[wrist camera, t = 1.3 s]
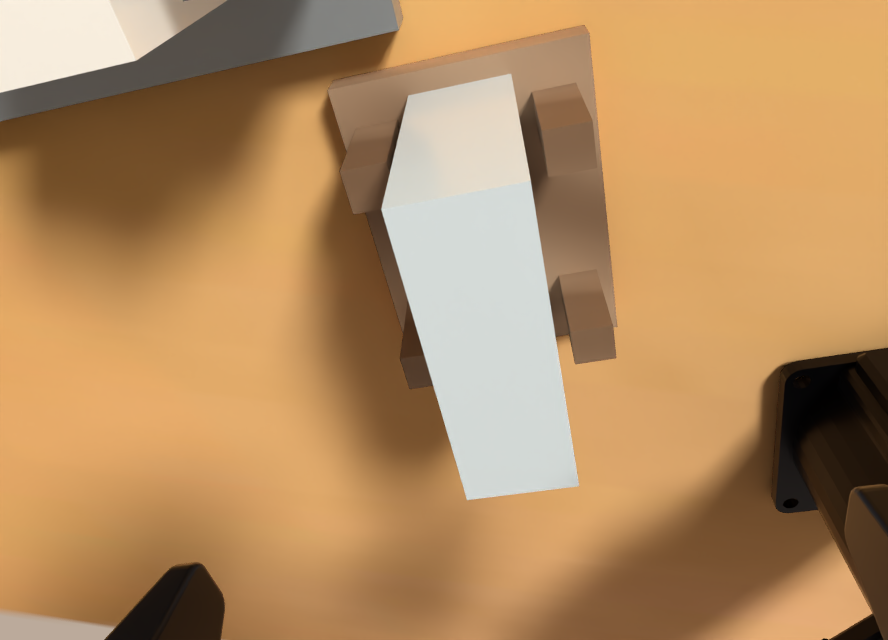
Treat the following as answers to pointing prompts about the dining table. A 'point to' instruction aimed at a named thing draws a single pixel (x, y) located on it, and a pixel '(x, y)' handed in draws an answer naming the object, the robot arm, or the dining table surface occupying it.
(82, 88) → the rack
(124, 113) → the dining table surface
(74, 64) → the white rectangular block
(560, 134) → the stand
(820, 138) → the dining table surface
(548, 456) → the white long rectangular block
